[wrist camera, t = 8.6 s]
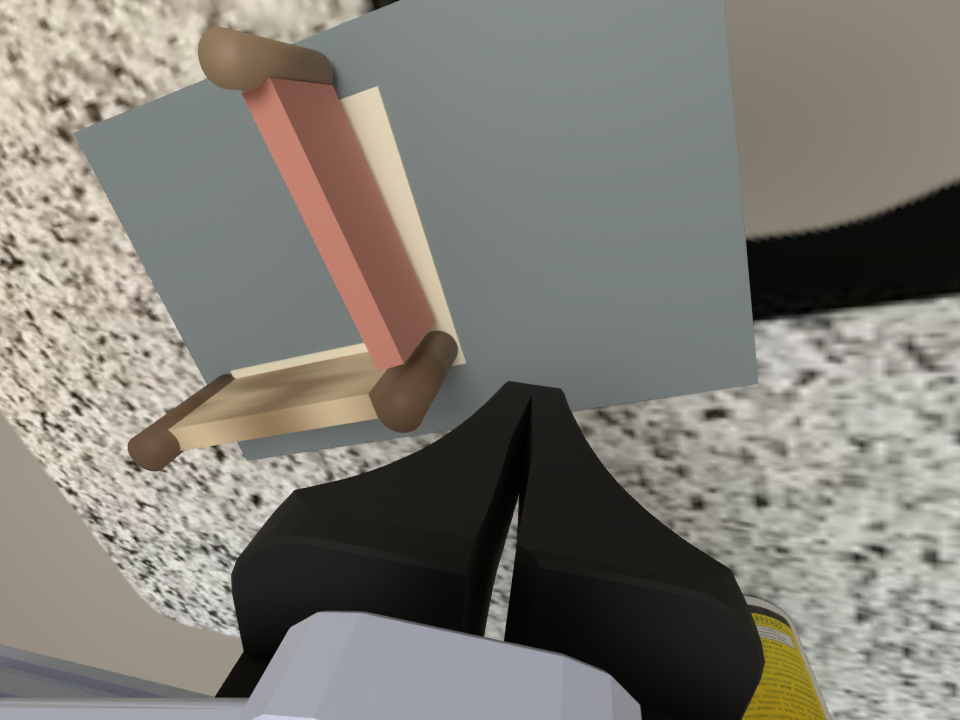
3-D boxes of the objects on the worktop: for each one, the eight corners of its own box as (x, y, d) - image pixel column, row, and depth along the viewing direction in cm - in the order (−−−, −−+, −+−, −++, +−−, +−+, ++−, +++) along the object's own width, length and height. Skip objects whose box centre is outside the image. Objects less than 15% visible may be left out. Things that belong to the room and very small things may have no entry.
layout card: (251, 456, 27) (246, 461, 27) (81, 132, 21) (71, 133, 21) (755, 378, 20) (758, 384, 20) (710, -122, 15) (713, -129, 14)
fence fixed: (230, 401, 26) (141, 473, 21) (215, 373, 25) (120, 439, 20) (465, 356, 22) (429, 429, 17) (454, 322, 22) (413, 387, 17)
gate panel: (440, 319, 21) (400, 374, 16) (409, 328, 21) (363, 385, 17) (321, 42, 17) (229, 16, 13) (287, 60, 18) (188, 41, 13)
